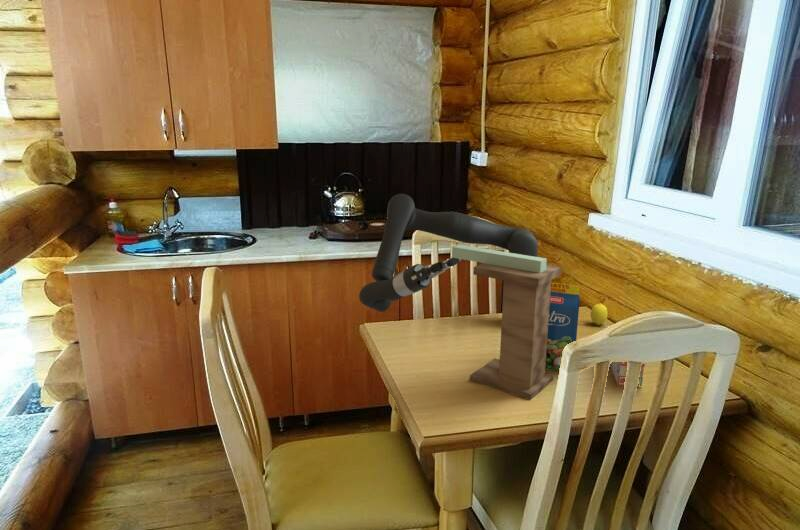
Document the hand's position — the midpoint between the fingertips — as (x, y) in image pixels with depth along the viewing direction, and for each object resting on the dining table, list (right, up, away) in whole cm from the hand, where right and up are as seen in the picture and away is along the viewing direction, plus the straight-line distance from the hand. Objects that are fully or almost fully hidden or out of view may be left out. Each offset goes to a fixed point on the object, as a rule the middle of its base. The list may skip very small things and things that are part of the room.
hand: (451, 261), depth 158 cm
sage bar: (+11, -1, -9) cm, 14 cm away
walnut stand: (+16, -32, -4) cm, 37 cm away
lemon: (+54, -22, +37) cm, 69 cm away
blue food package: (+29, -30, +4) cm, 42 cm away
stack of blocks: (+49, -31, +2) cm, 58 cm away
